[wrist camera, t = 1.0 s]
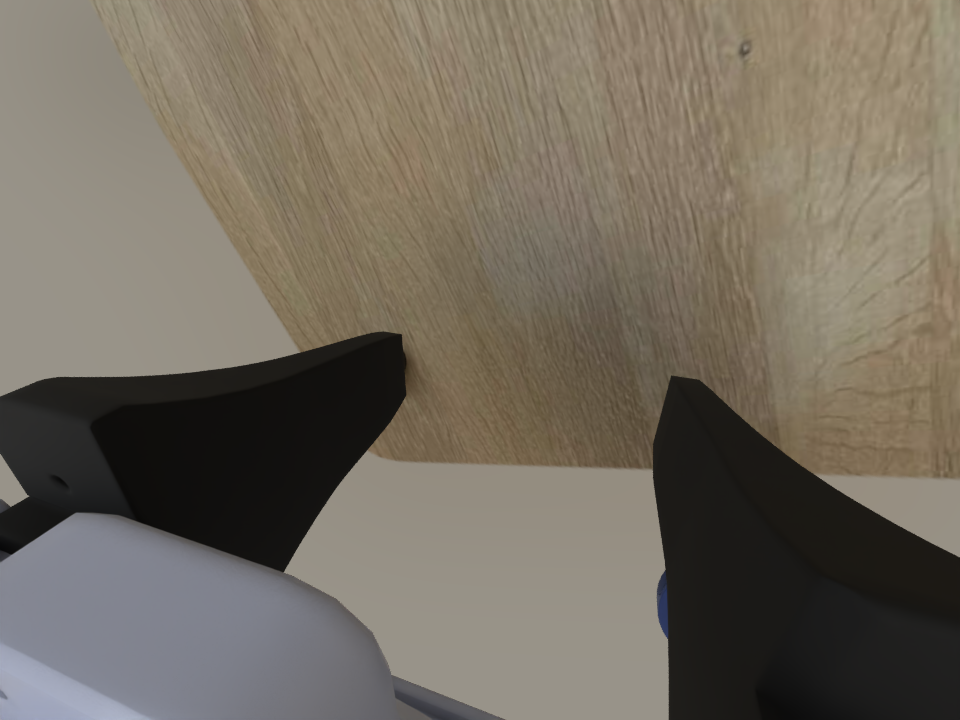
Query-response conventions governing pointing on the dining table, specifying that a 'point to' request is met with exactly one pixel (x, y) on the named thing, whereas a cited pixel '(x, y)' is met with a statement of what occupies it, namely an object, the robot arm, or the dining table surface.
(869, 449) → the dining table surface
